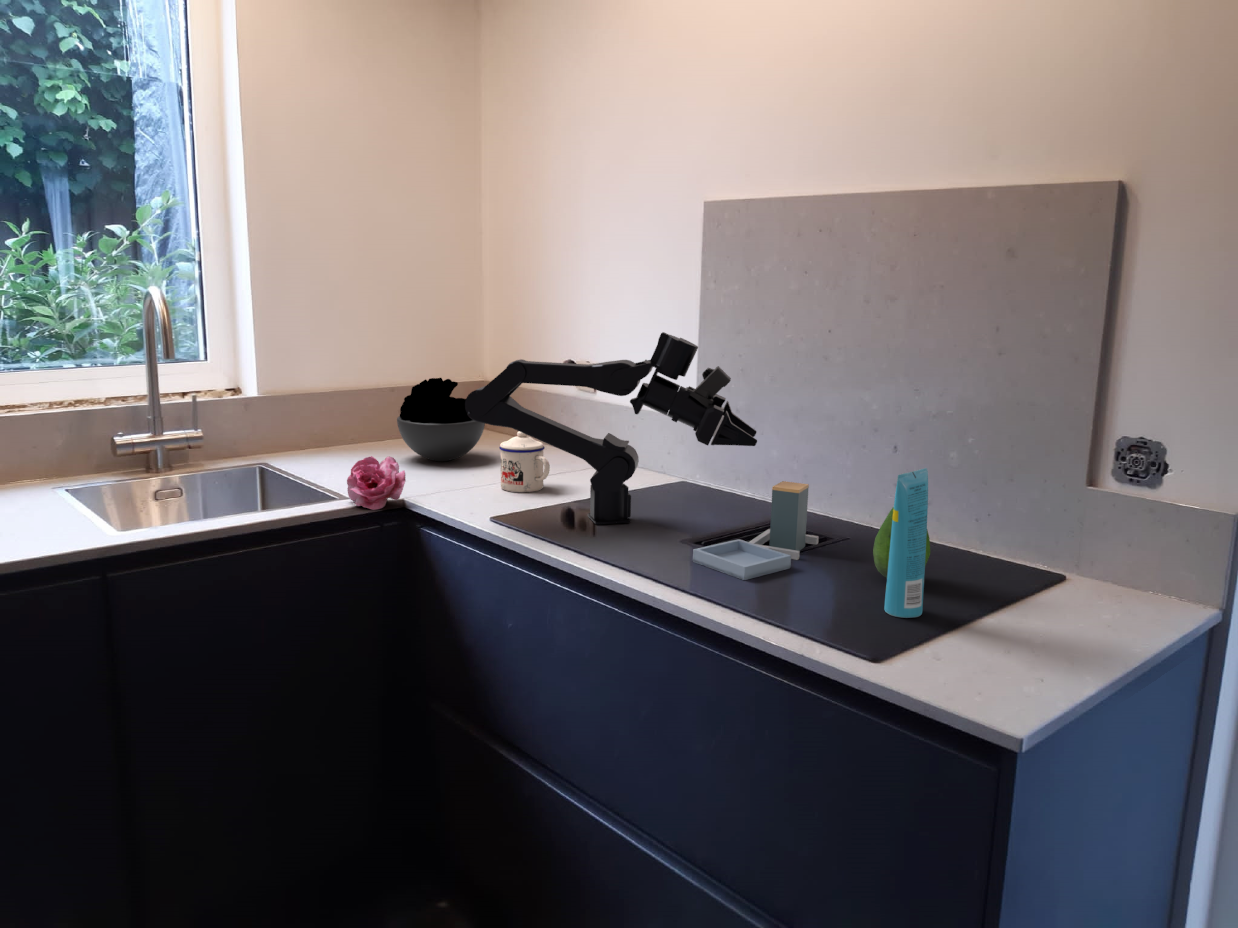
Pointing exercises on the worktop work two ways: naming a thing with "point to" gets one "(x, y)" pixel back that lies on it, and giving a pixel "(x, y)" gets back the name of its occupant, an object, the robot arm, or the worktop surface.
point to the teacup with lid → (523, 464)
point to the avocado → (883, 545)
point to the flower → (375, 482)
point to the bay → (794, 554)
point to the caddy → (789, 515)
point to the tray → (741, 559)
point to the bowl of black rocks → (437, 421)
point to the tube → (908, 546)
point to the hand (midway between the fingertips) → (755, 438)
